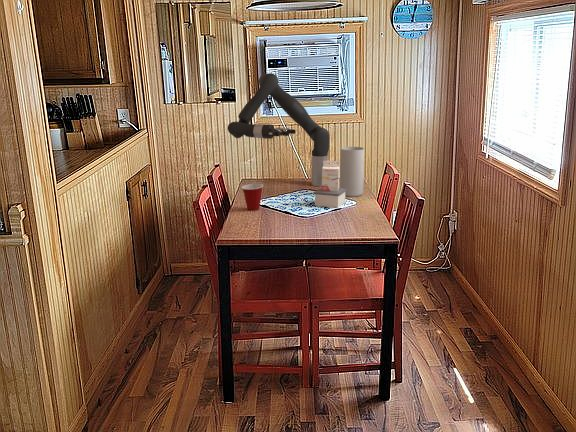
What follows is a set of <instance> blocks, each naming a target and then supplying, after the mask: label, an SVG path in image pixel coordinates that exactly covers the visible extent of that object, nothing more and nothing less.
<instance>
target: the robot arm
mask: <svg viewBox="0 0 576 432" xmlns="http://www.w3.org/2000/svg"><path fill="white" fill-rule="evenodd" d="M258 85H259V88H258V89H257V91H256V92H255V94H254V95H253V96H252V97H251V98H250V99H249V100H248V101H247V102H246V104H245V105H244V106H243V108H242V110H240V112H239V114H238V116H237V117H238V121H232V122H230V123H229V124H228V125H227V131H228V133H229V134H231V136H233V137H234V138H236V139H240V138H242V137H243V136H245V137H247V138H257V139H263V140H264V139H266V140H269V139H270V140H271V139H273V138H274V137H279V138H280V137H282V136H283V137H289V136H290V135H295V134H296V129H292V128H291V129H290V127H288V128H287V127H274V125H273V124H267V123H250V122H251V121H252V120H253V118H254V117H255V115H256V113H257V112H258V110H259V109H260V107H261V106H263V103H264V102H265V101H266V100H267V98H268V97H269V96H270V97H271V98H273V100H274V102H276V103H277V104H278V105H279V107H280V108H281V109H282V110H283V111H284V113H286V114H287V115H288V116H289V118H291V120H293V121H294V122H295V123H296V124H297V125H298V126H300V127H301V128H302V129H303V131H305V132H306V134H307V136H309V138H310V139H311V140H312V142H313V148H312V150H311V185H312V186H315V187H322V168H323V161H329V158H328V157H329V151H330V132H329V130H328V129H327V128H325V127H323V126H321V125H319V124H318V123H317V122H315V120H314V119H312V118H311V116H310V115H309V113H308V111H307V109H306V108H305V107H304V106H303V104H301V102H300V101H299V100H298V99H296V98H295V97H294V96H293V95H291V94H290V93H288V92H287V91H285V90H284V89H283V88H282V87H281V86H280V84H279V77H278V76H277V75H276V74H274V73H264V74H262V75H260V77H259V78H258Z"/></svg>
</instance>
